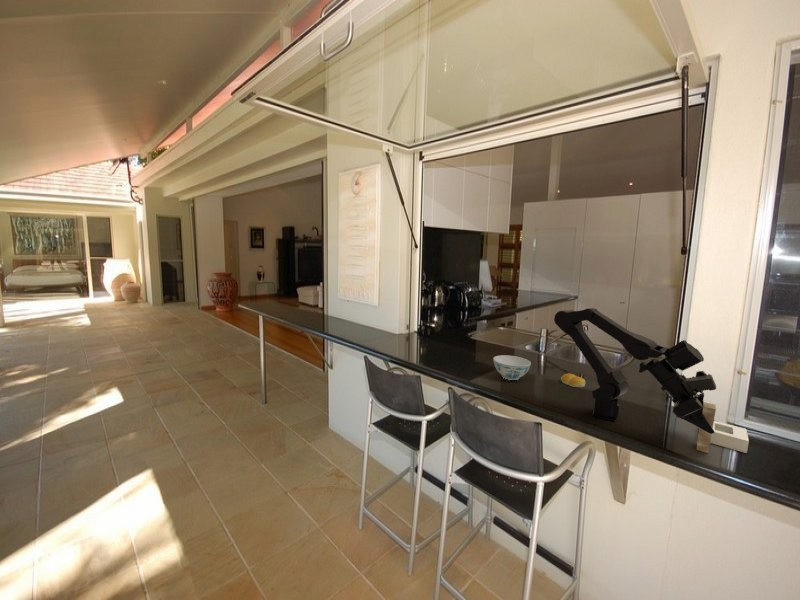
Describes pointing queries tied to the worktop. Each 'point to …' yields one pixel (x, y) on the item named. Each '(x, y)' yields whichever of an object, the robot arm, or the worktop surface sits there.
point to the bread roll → (573, 380)
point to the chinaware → (511, 366)
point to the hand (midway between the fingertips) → (712, 427)
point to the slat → (704, 436)
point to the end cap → (730, 436)
